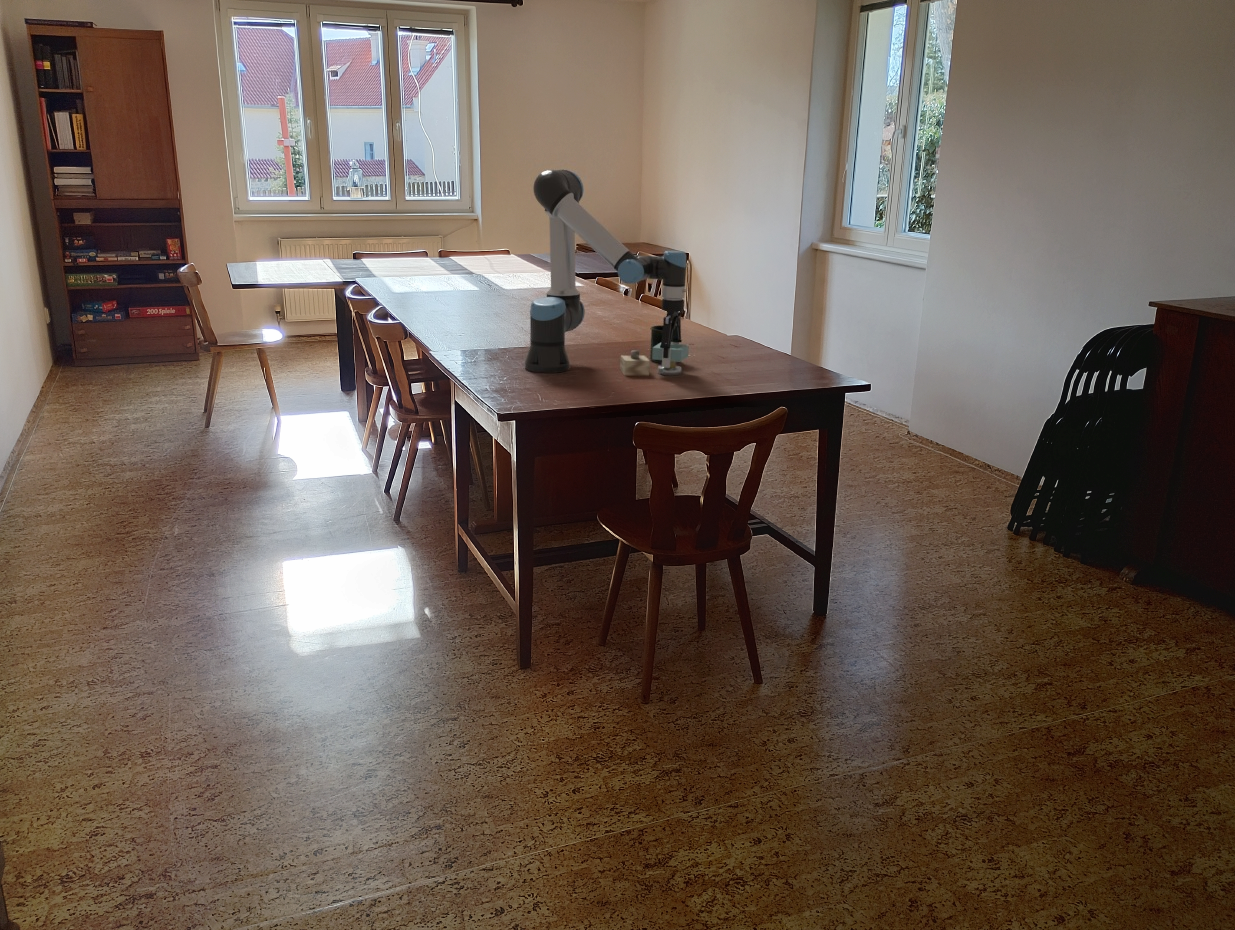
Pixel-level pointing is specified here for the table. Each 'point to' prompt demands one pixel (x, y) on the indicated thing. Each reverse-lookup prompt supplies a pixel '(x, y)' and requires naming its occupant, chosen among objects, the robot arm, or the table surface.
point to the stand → (634, 364)
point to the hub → (670, 369)
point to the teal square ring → (672, 352)
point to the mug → (656, 339)
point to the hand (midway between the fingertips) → (670, 364)
